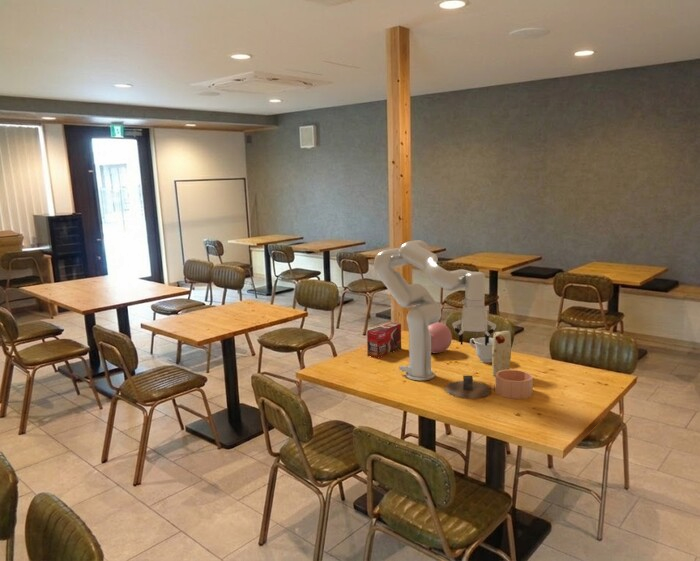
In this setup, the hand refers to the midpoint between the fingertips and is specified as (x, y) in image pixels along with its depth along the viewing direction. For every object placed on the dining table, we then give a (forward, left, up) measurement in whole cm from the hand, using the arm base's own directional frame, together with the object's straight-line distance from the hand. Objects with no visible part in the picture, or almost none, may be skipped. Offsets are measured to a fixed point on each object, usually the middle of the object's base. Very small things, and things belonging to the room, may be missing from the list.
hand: (473, 344), depth 220 cm
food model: (+13, +19, -19) cm, 30 cm away
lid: (-2, -1, -20) cm, 20 cm away
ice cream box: (-41, +47, -19) cm, 66 cm away
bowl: (+16, -1, -19) cm, 25 cm away
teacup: (+7, +39, -19) cm, 44 cm away
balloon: (-17, +48, -19) cm, 54 cm away
